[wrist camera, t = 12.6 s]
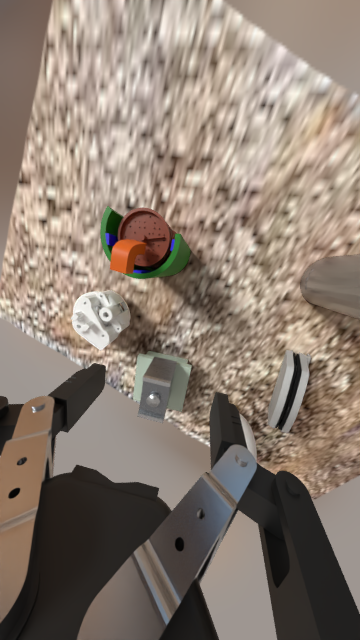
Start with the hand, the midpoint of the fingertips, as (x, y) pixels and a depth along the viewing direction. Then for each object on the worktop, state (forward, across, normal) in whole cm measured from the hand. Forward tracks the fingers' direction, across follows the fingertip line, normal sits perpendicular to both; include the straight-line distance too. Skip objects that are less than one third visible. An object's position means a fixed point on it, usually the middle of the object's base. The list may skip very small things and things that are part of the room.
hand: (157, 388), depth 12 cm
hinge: (+28, -24, +14) cm, 40 cm away
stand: (+28, +3, +18) cm, 34 cm away
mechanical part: (+28, +18, +5) cm, 34 cm away
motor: (+28, +7, -10) cm, 31 cm away
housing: (+23, +3, +16) cm, 28 cm away
